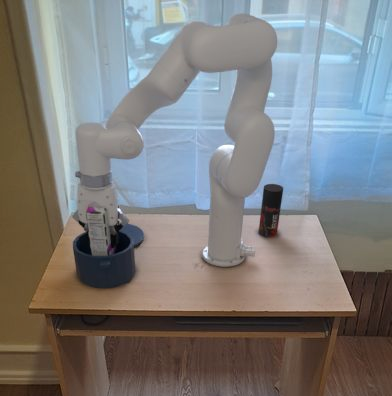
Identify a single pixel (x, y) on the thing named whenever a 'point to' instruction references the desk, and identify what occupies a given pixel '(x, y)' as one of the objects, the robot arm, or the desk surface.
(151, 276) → the desk surface
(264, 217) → the deodorant
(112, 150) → the robot arm
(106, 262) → the pot
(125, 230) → the pot lid
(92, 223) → the candy bar box
